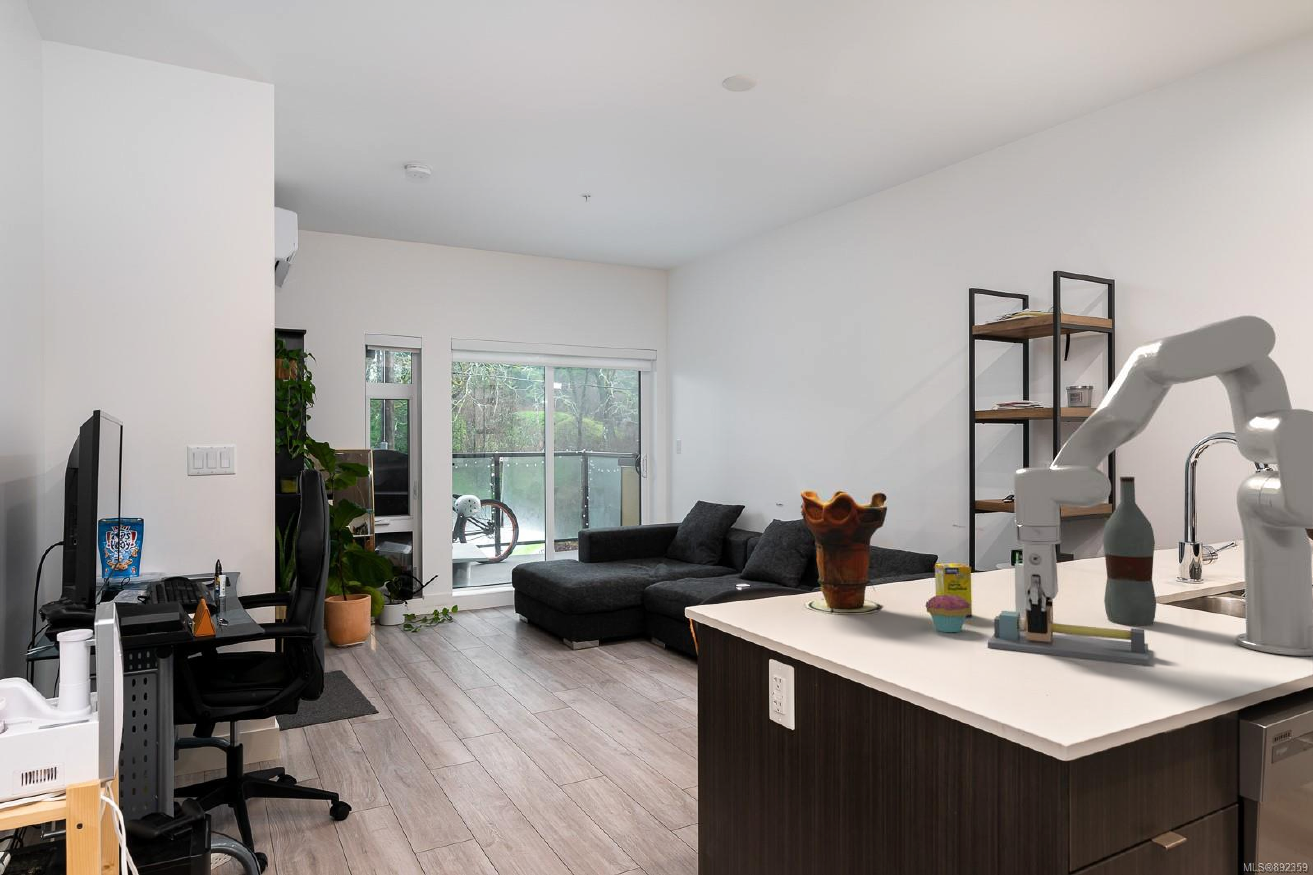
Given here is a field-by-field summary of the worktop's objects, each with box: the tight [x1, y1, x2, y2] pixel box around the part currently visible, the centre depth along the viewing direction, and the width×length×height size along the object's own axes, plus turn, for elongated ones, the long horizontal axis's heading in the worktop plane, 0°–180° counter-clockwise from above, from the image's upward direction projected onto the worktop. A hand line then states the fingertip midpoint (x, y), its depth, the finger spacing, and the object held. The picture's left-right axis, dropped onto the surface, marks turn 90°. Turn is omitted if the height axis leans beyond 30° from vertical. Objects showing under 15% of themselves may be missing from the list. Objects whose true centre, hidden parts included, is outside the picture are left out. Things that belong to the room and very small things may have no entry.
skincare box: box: [1014, 562, 1054, 619], centre depth 163 cm, size 6×4×12 cm
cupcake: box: [925, 570, 971, 633], centre depth 158 cm, size 9×8×12 cm
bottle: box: [1102, 476, 1157, 627], centre depth 163 cm, size 9×9×30 cm
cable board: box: [987, 610, 1150, 667], centre depth 142 cm, size 25×12×5 cm, turn 58°
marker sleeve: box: [1026, 606, 1054, 642], centre depth 145 cm, size 4×5×6 cm
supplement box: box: [934, 562, 973, 618], centre depth 172 cm, size 6×6×11 cm
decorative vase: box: [800, 490, 888, 615], centre depth 183 cm, size 21×23×28 cm
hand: (1040, 627), depth 145 cm, fingers open, 9 cm apart
